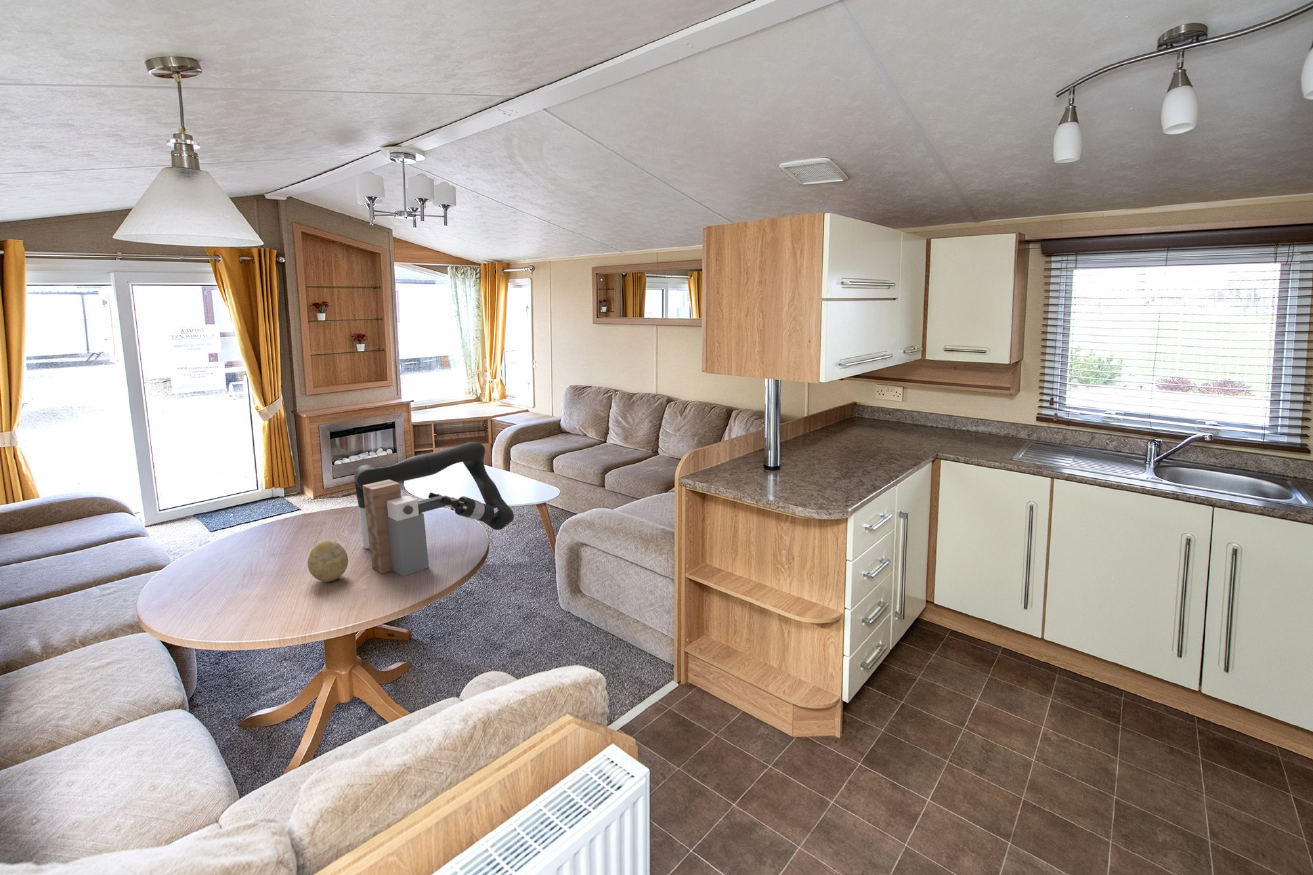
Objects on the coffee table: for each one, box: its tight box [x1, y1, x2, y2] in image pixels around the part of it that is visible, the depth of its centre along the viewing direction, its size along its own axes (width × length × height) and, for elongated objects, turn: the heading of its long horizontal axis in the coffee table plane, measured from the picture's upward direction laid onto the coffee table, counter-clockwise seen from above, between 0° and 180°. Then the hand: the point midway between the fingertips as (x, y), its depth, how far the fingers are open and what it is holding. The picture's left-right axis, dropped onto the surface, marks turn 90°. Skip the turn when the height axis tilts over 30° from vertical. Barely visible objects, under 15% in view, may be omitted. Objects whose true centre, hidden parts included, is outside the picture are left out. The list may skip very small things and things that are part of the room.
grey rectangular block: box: [387, 512, 430, 577], centre depth 231 cm, size 8×10×21 cm
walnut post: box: [363, 479, 402, 575], centre depth 232 cm, size 8×10×32 cm
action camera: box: [387, 494, 447, 521], centre depth 231 cm, size 9×20×6 cm, turn 138°
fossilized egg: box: [307, 539, 349, 583], centre depth 223 cm, size 13×13×15 cm
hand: (435, 497), depth 236 cm, fingers open, 8 cm apart
